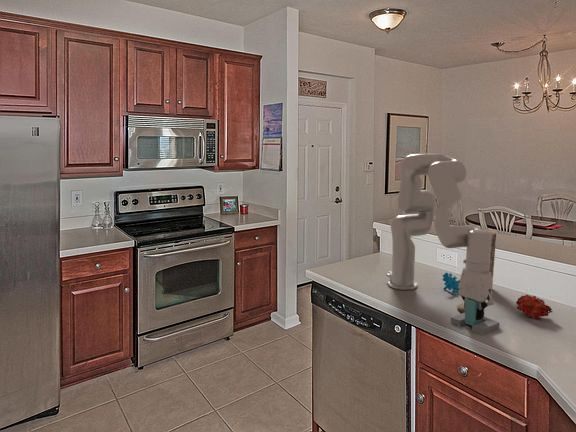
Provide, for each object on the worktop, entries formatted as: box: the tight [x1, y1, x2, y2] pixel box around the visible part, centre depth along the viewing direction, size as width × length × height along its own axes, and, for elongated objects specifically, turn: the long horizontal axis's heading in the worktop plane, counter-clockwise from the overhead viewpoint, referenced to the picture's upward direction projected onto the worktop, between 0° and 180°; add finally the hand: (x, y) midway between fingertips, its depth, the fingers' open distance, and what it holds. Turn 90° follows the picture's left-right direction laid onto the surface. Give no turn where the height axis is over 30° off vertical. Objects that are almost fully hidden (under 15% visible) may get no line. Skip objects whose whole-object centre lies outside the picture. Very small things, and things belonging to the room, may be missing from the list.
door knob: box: [456, 287, 465, 314], centre depth 165 cm, size 9×9×9 cm
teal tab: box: [465, 298, 483, 327], centre depth 151 cm, size 4×5×9 cm
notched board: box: [450, 313, 500, 336], centre depth 152 cm, size 12×10×2 cm
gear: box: [442, 272, 460, 295], centre depth 186 cm, size 11×6×10 cm
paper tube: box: [485, 229, 497, 285], centre depth 187 cm, size 7×7×25 cm
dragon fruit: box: [515, 294, 554, 321], centre depth 159 cm, size 8×8×12 cm
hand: (474, 316), depth 152 cm, fingers closed on teal tab, 3 cm apart
